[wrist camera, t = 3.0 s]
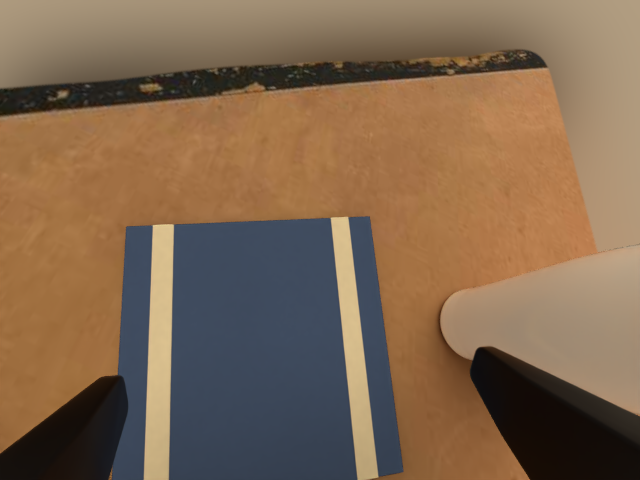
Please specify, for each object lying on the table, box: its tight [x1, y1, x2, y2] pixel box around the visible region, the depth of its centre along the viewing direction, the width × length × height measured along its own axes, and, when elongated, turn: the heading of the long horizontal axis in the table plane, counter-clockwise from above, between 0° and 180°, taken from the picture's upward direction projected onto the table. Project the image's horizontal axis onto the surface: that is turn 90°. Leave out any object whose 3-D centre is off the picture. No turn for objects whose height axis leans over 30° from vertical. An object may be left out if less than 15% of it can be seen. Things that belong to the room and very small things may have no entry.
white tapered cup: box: [440, 244, 640, 415], centre depth 17 cm, size 7×7×15 cm
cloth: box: [112, 217, 403, 480], centre depth 22 cm, size 18×18×1 cm
